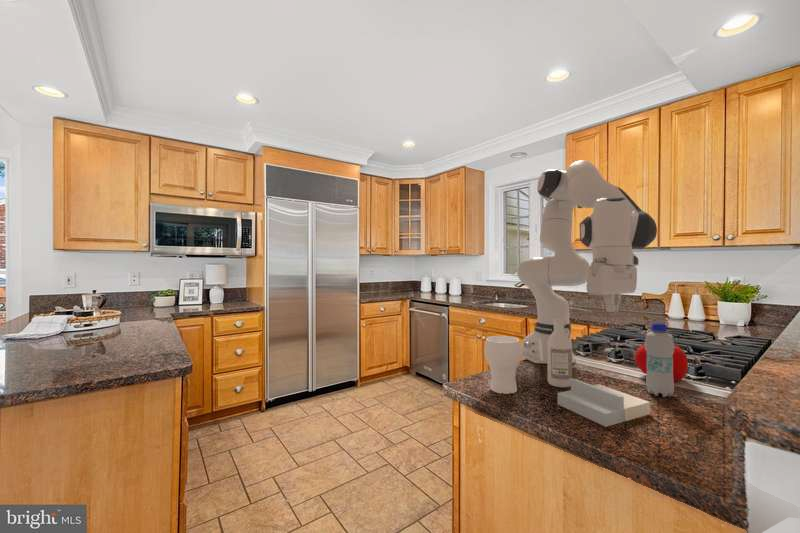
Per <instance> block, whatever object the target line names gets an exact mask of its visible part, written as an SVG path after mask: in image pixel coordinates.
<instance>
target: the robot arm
mask: <svg viewBox="0 0 800 533" xmlns="http://www.w3.org/2000/svg"><path fill="white" fill-rule="evenodd" d="M537 192H538V194H539V195H540V197H541V196H542V197H544V198H547V199H548V198H549V200H548V201H547V202H546V204H545V207H544V210H543V213H542V216H541V217H542V218H541V225H540V236H539V242H540V244H541V246H542V247H544V249H546V250H548V251H550V252H553V253H554V255H553V256H534V257H529V258H528V257H527V258H525V259H522V260H521V261H520V263H518V265H517V270H516V273H517V276H518V279H519V281H520V282H521V283H522V284H523V285H525V286H526V288H528V289H529V290H530V292H531V293H532V295H533V296H534V299H535V304H536V312H537V314H536V315H537V316H536V317H537V321H536V322H532V326H533V327H534V329H533V331H532V332H531V333H529V334H528V335H526V336H525V337H524V338H523V339H522V341H521V350H522V356H521V358H524V359H526V360H528V361H530V362H532V363H535V364H545V365H546V364H547V342H548V339H549V337H550V335H551V334H552V332H553V331H554V319H556V318H559V319H564V332H565V333H566V335H567V336H568V338H569V339H570V342H571V343H572V340H571V333H572V326H571V322H570V304H569V302H568V301H567V299H565V298H564V297H563V296H561V295H559V294H557V293H556V292H555V291H554V289H553V287H555V286H556V287H573V286H580V285H585V284H586V292H587V294H588V295H589V296H603V301H604V303H605V305H606V306H605V310H606V312H608V313H615V312H619V305H620V303H621V300H622V295H623V294H624V295H626V294H634V293H635V292H636V289H637V282H638V281H637V280H638V269H637V266H639V264H640V261H639V257H638V256H636V255H635V253H634V251H633V249H634V250H643V249H645V248H646V247H648V246H650V245H651V243H653V241H655V239H656V237H657V234H658V233H657V232H658V226H657V223H656V221H655V219H654V218H653V217H652V216H651V215H650V214H649V213H647V212H646V211H644V210H642V209H641V208H640V207H639V205H638V204H636V202H635V201H634V200H633V199H632V198H631V197H630V196H629V195H628V194H627V193H626V191H624V190H623V189H622V188H620V187H619V186H617V185H614V184H613V183H611V182H609V181H607V180H606V179H604V178H603V177H602V175H601V173H600V172H599V170H598V169H597V167H596V166H595V165H594V164H593V163H592V162H590V161H589V160H578V161H575V162H573V163H572V164H570V165H569V166H568V167H567V170H560V169H559V168H557V169H556V168H555V169H554V168H553V169H546V170H545V171H543V172H542V173H541V175H540V176H539V178H538V181H537ZM575 207H577V208H578V209H583V208H584V209H593V210H592V212H591V214H590V216H587V217H585V218H584V219H583V220H581V222H580V223H579V241H580V243H582V244H583V245H584V246H585V247H587V248H590V249H592V262H590V263H589V262H588V260H587V259H586V258H584V257H582V256H581V255H580V254H579V253H578V252H577V251H576V249H575V248H574V245H573V243H572V241H573V239H572V232H573V231H572V229H573V228H572V227H573V212H574V209H575ZM571 346H573V345H572V344H571ZM575 359H576V358H575V356H574V352H573V350H572V364H574V363H575V362H576V360H575Z"/></svg>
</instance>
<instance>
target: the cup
mask: <svg viewBox="0 0 800 533" xmlns="http://www.w3.org/2000/svg"><path fill="white" fill-rule="evenodd" d="M521 349H522V344H521V342H520V339H519V338H518V337H515V336H507V335H492V336H488V337H486V339H485V344H484V357H485V359H486V360H485V361H486V362H487V364H488V366H489V369H490V374H491V378H490V385H489V386H490V387H489V389H490V390H491V391H492V392H494V393H497V394H502V393H503V394H502V395H504V394H505V395H507V394H509V395H510V393H511V394H515V393H516V392H517V391H518V388H517V381H516V374H517V369H518V367H519V365H520V363H521V359H522V350H521Z"/></svg>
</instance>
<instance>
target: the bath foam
mask: <svg viewBox="0 0 800 533" xmlns="http://www.w3.org/2000/svg"><path fill="white" fill-rule="evenodd" d="M571 345H572V341H571V342H570V339H569V338H568V336H567V335H566V333H565V332H564V319H559V318H556V319H554V331H553V332H552V334H551V335H550V337H549V339H548V342H547V366H546V367H547V368H546V369H547V372H546V374H547V383H548V384H549V385H550V386H553V387H556V388H571V379H573V363H572V351H573V347H572V346H573V345H572V346H571Z"/></svg>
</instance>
